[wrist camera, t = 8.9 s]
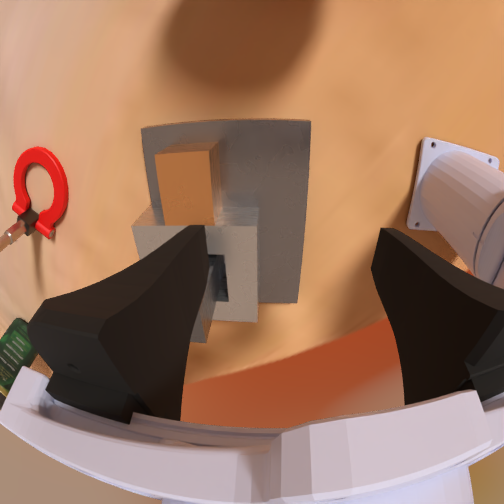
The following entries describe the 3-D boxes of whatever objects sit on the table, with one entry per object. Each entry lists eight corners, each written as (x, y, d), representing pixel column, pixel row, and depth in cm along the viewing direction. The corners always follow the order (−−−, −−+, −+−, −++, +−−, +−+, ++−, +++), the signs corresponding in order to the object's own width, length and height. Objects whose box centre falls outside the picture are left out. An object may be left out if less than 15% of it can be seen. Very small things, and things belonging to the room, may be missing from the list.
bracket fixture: (309, 120, 17) (317, 126, 14) (296, 296, 26) (298, 327, 23) (140, 127, 18) (114, 137, 15) (170, 290, 27) (158, 318, 24)
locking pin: (222, 239, 22) (199, 311, 15) (224, 269, 24) (206, 343, 17) (186, 238, 22) (152, 306, 16) (191, 268, 24) (163, 338, 17)
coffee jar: (17, 310, 34) (-31, 386, 19) (47, 339, 37) (5, 418, 22) (12, 325, 38) (-28, 390, 23) (38, 350, 41) (3, 417, 26)
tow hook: (28, 133, 18) (14, 203, 23) (-69, 177, 7) (-59, 262, 11) (80, 168, 21) (60, 239, 25) (-23, 234, 10) (-11, 316, 14)
